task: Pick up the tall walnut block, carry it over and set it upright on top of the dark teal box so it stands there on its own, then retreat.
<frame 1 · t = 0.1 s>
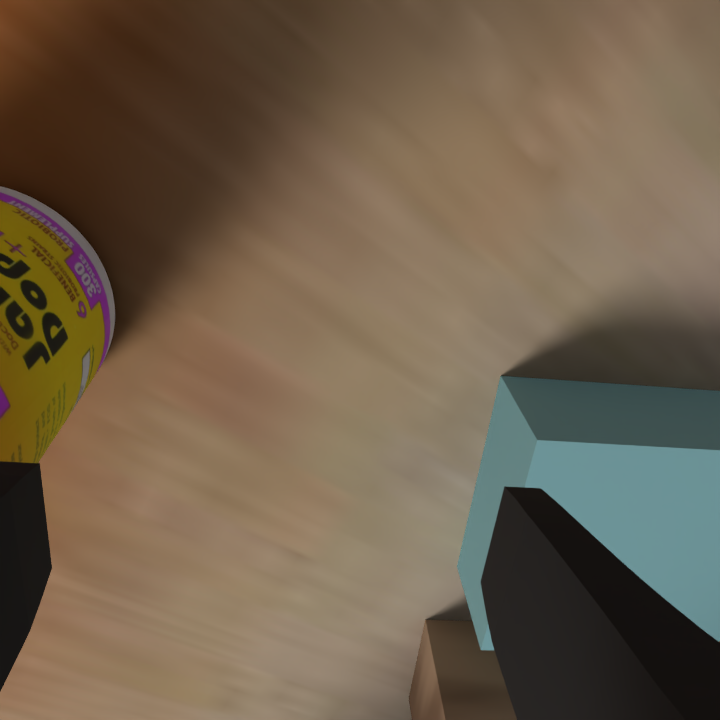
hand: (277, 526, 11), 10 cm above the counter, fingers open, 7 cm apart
teal base box: (584, 479, 24), on the counter
walnut block: (471, 660, 27), on the counter
supplement bottle: (3, 290, 19), on the counter
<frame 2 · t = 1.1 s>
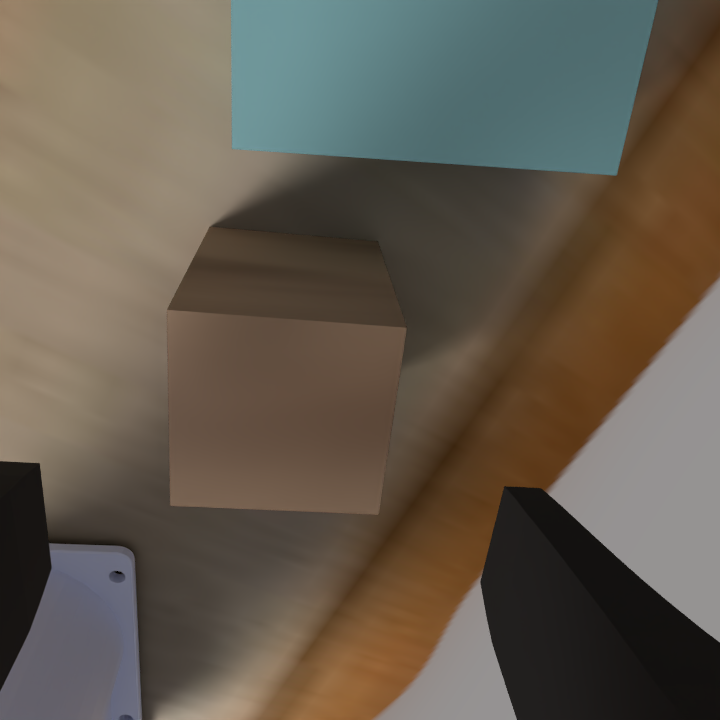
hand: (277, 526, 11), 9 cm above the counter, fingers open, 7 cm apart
walnut block: (289, 311, 19), on the counter
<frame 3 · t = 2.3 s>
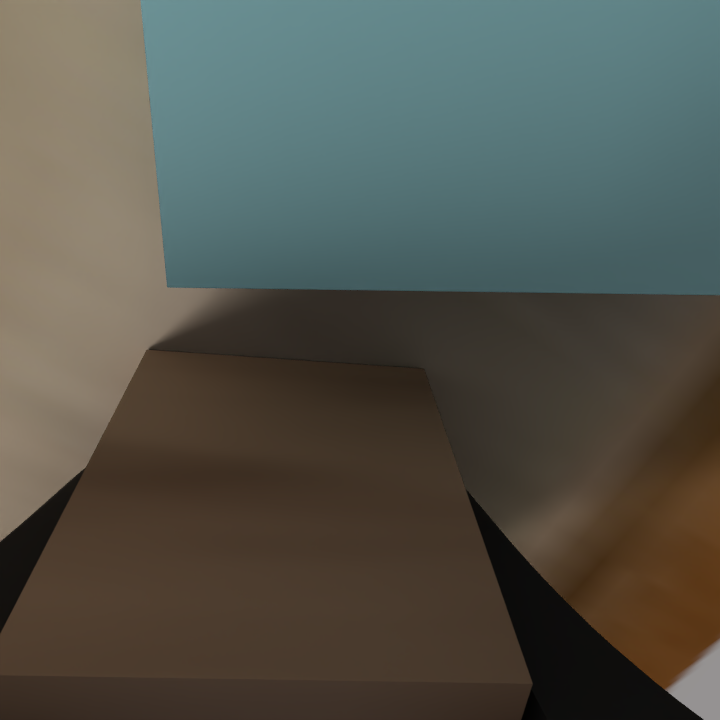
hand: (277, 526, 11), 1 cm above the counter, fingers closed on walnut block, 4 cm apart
walnut block: (280, 473, 12), on the counter, touching gripper
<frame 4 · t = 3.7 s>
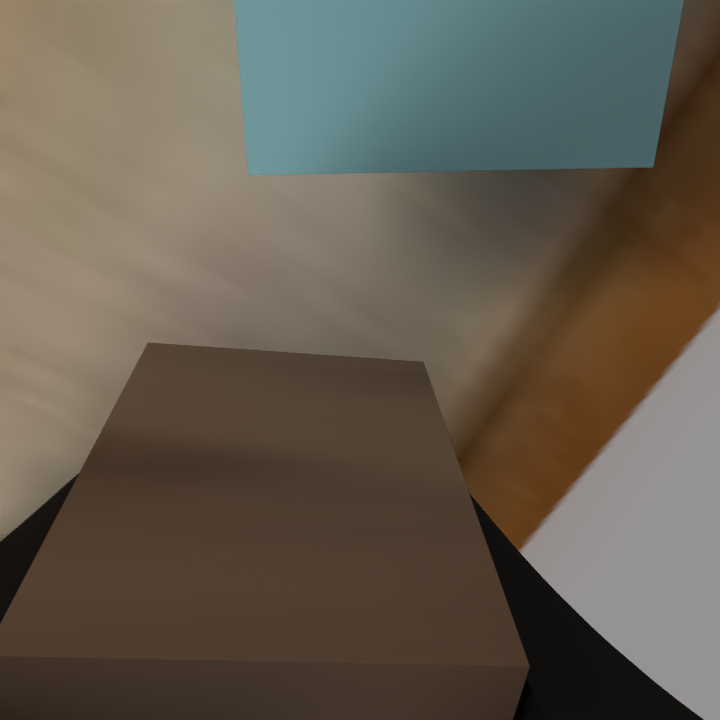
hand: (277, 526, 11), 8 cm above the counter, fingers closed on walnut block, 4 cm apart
walnut block: (280, 466, 12), point 7 cm above the counter, touching gripper
when the fingers open (7 cm above the counter, at t = 5.2 s): walnut block drops 2 cm, resting on teal base box.
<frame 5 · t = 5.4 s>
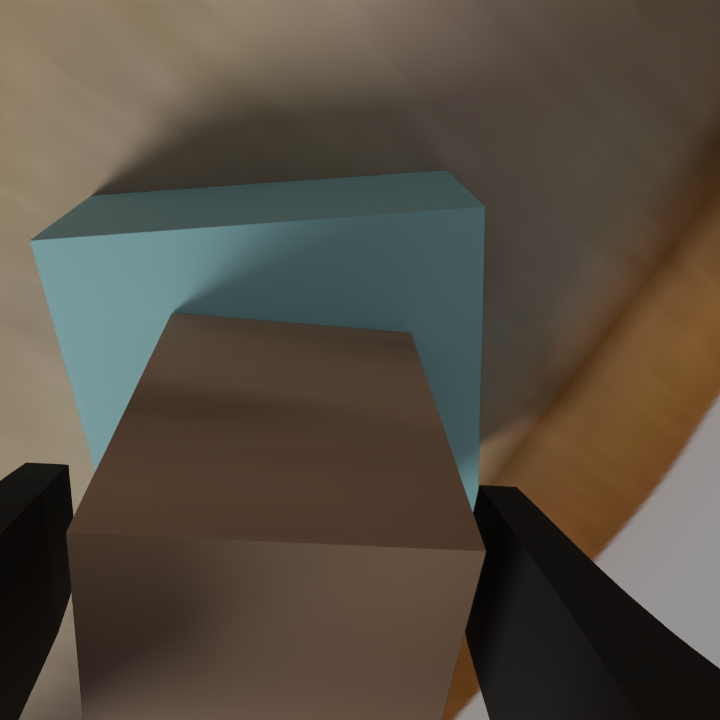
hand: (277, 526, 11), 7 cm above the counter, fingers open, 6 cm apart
teal base box: (289, 338, 17), on the counter, touching walnut block
walnut block: (285, 424, 13), point 4 cm above the counter, touching teal base box
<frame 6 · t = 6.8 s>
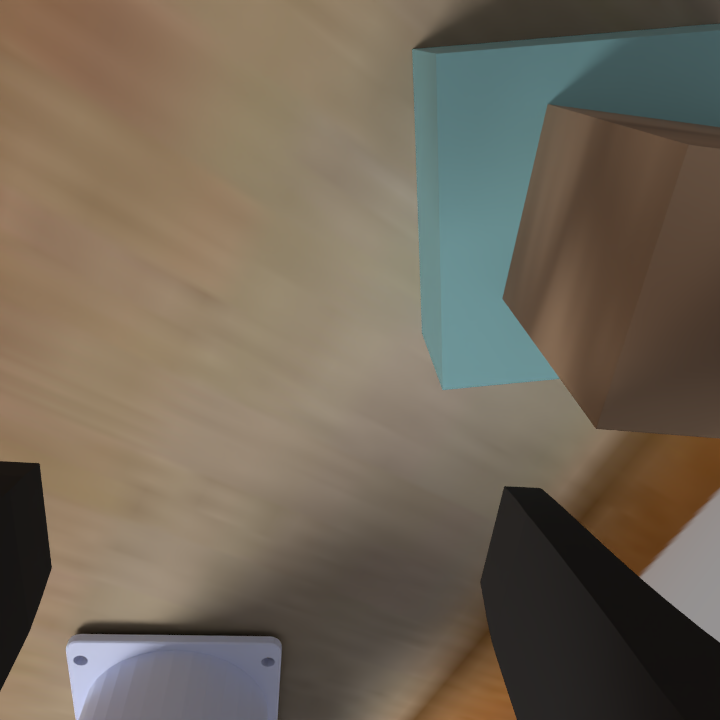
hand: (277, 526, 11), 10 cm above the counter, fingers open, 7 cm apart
teal base box: (553, 189, 19), on the counter, touching walnut block
walnut block: (615, 218, 16), point 4 cm above the counter, touching teal base box
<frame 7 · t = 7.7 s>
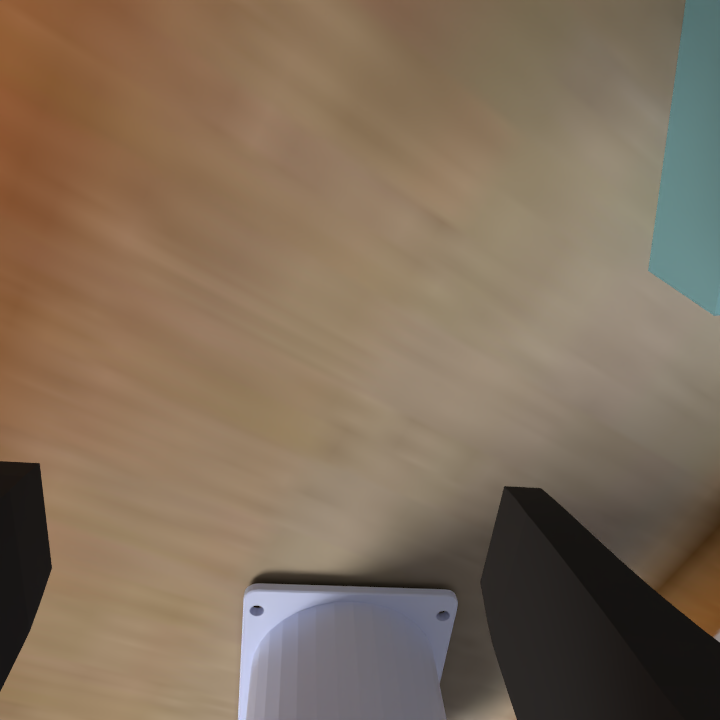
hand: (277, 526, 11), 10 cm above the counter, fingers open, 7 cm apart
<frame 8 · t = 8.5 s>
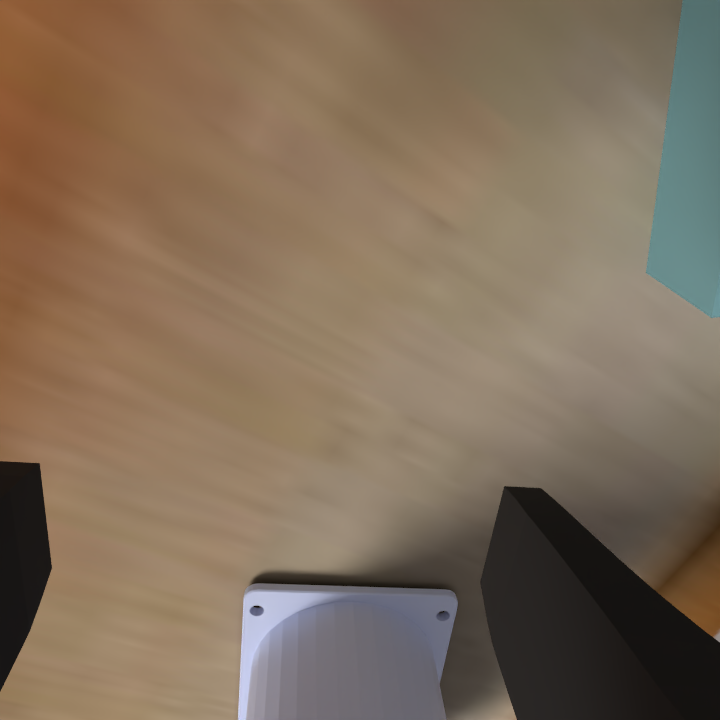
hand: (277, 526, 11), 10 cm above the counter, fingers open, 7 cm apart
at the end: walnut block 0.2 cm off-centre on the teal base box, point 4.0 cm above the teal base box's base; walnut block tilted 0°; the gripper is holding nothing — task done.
